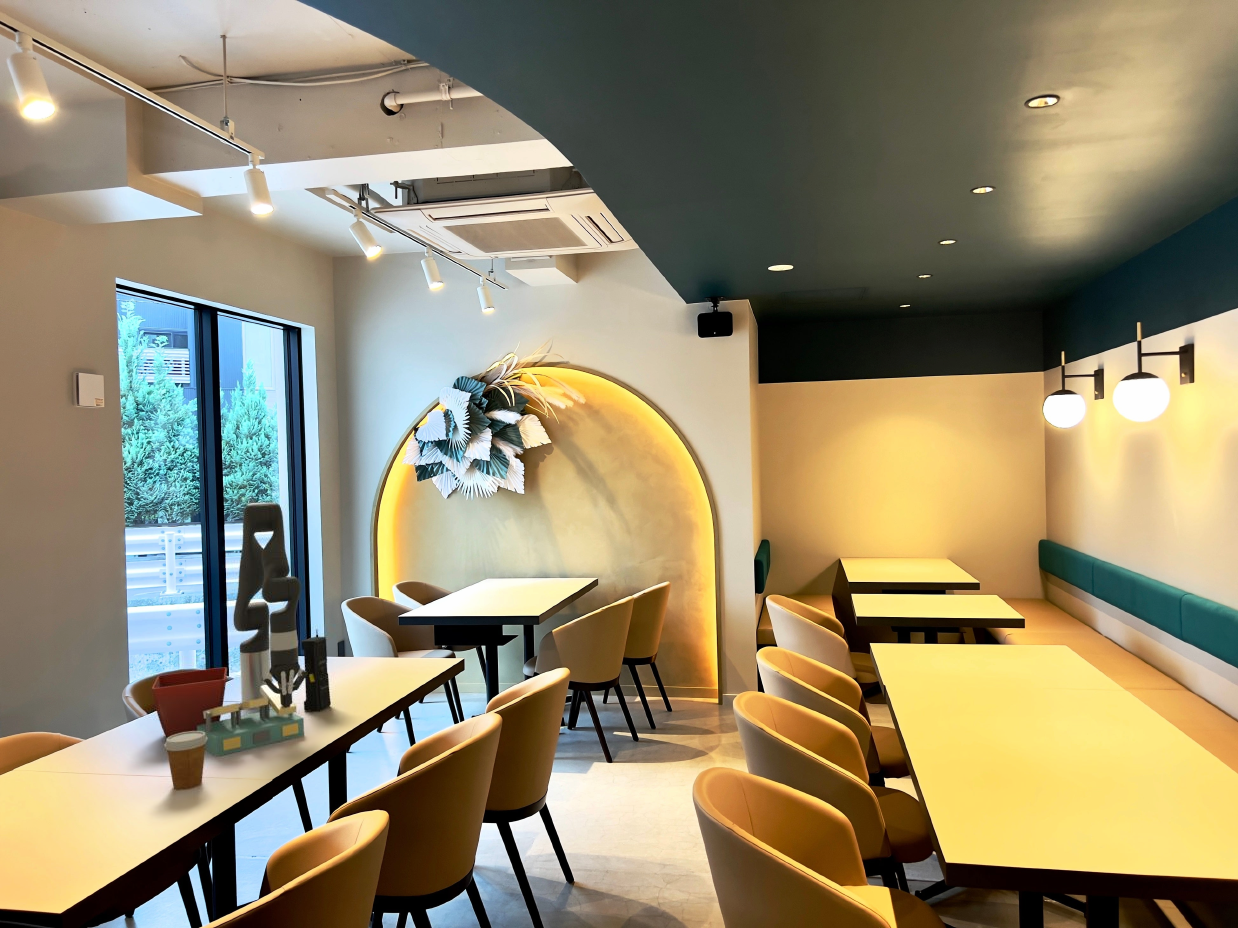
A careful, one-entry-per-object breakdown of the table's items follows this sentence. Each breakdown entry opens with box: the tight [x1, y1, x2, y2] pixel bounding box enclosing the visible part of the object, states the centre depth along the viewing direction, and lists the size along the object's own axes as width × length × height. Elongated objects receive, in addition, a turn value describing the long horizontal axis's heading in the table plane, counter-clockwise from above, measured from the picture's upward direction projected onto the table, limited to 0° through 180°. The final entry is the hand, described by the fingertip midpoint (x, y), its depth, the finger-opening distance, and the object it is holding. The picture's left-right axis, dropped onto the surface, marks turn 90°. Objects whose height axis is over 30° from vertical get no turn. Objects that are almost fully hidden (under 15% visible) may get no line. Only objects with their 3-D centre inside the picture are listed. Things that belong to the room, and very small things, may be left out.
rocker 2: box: [238, 697, 268, 712], centre depth 246 cm, size 15×5×2 cm, turn 42°
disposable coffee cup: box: [163, 731, 208, 790], centre depth 211 cm, size 10×10×12 cm
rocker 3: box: [260, 682, 297, 716], centre depth 252 cm, size 15×5×2 cm, turn 42°
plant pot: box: [151, 666, 228, 739], centre depth 254 cm, size 19×19×17 cm
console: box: [197, 701, 305, 757], centre depth 246 cm, size 17×24×10 cm
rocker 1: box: [203, 702, 239, 718], centre depth 241 cm, size 15×5×2 cm, turn 42°
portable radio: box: [300, 629, 332, 713], centre depth 275 cm, size 8×6×25 cm
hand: (286, 706), depth 247 cm, fingers closed
